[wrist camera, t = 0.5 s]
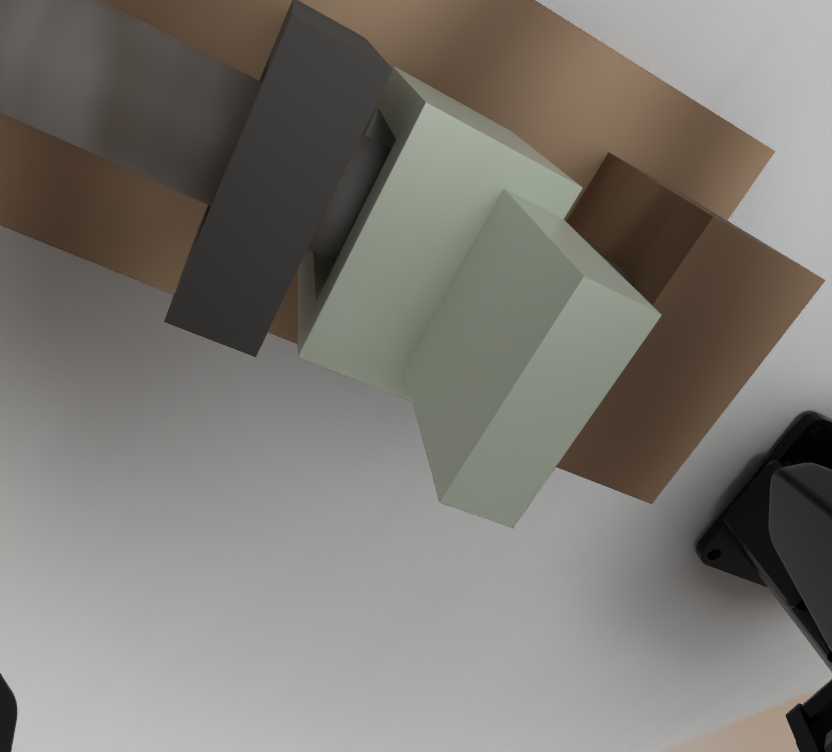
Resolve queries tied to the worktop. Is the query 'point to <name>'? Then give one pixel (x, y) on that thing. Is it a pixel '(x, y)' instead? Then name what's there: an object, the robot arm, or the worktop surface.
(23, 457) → the worktop surface
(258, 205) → the dark grey angular piece
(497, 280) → the sleeve
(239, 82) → the pipe stand
